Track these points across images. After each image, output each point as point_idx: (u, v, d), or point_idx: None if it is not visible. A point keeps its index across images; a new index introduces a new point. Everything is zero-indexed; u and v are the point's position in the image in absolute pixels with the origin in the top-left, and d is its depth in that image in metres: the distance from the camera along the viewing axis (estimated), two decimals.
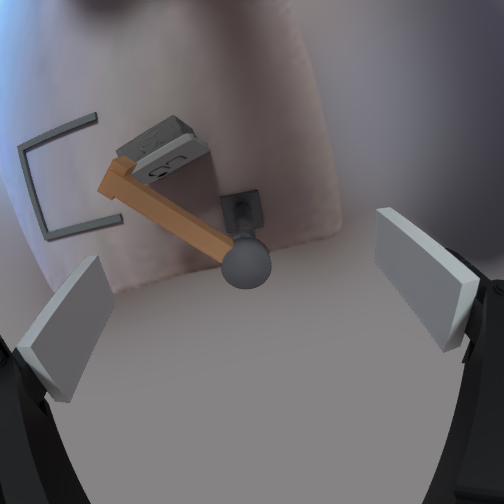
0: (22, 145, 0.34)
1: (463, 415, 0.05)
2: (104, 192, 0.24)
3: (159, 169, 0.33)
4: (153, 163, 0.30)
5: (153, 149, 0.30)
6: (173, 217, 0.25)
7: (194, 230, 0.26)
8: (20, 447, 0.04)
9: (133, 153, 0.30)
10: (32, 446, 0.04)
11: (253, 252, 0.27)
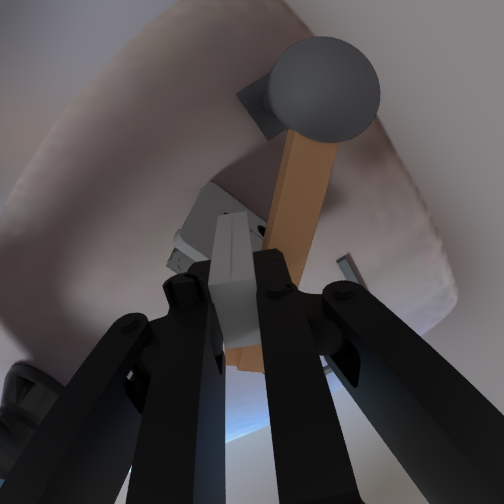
0: None
1: None
2: None
3: None
4: None
5: None
6: None
7: (287, 219, 0.13)
8: (184, 418, 0.05)
9: None
10: (199, 420, 0.05)
11: (288, 86, 0.10)
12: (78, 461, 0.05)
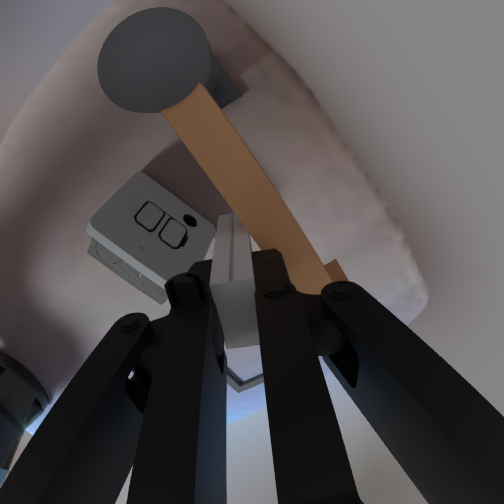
0: (234, 387, 0.39)
1: None
2: None
3: (167, 235, 0.24)
4: (144, 256, 0.21)
5: None
6: (255, 218, 0.12)
7: (224, 177, 0.11)
8: (185, 418, 0.05)
9: (150, 283, 0.23)
10: (200, 420, 0.05)
11: (122, 90, 0.10)
12: (79, 461, 0.05)
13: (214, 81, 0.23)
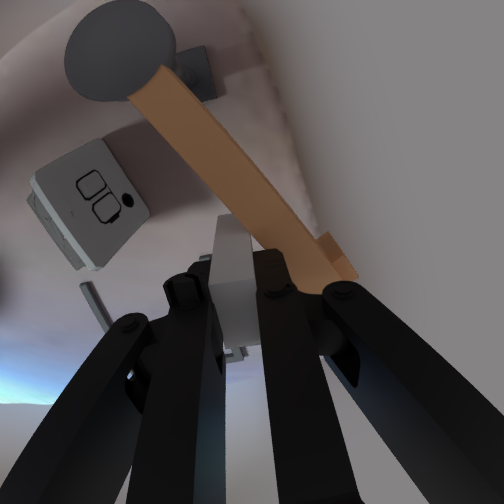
0: None
1: None
2: (348, 270, 0.14)
3: (100, 208, 0.23)
4: (71, 222, 0.20)
5: None
6: (231, 192, 0.12)
7: (196, 153, 0.11)
8: (184, 418, 0.05)
9: (71, 248, 0.22)
10: (199, 420, 0.05)
11: (89, 82, 0.09)
12: (78, 461, 0.05)
13: (196, 76, 0.23)
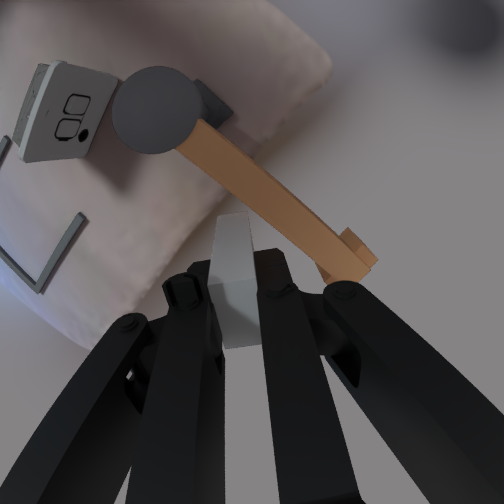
0: None
1: None
2: (368, 256, 0.17)
3: (63, 125, 0.22)
4: (41, 117, 0.19)
5: None
6: (270, 210, 0.15)
7: (238, 185, 0.15)
8: (183, 418, 0.05)
9: (24, 127, 0.20)
10: (199, 420, 0.05)
11: (140, 139, 0.13)
12: (78, 461, 0.05)
13: None
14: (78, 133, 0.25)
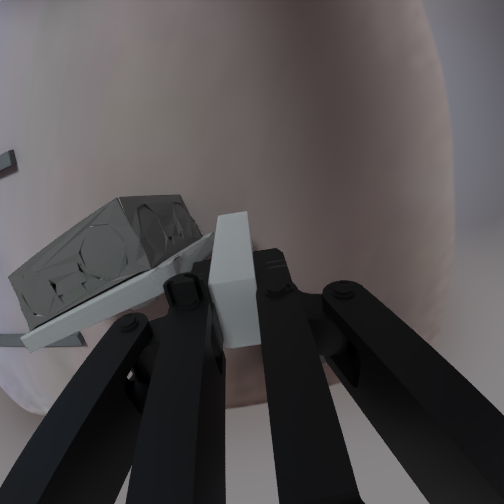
0: None
1: None
2: None
3: None
4: None
5: (78, 292, 0.11)
6: None
7: None
8: (184, 418, 0.05)
9: (39, 292, 0.11)
10: (199, 420, 0.05)
11: None
12: (78, 461, 0.05)
13: None
14: None
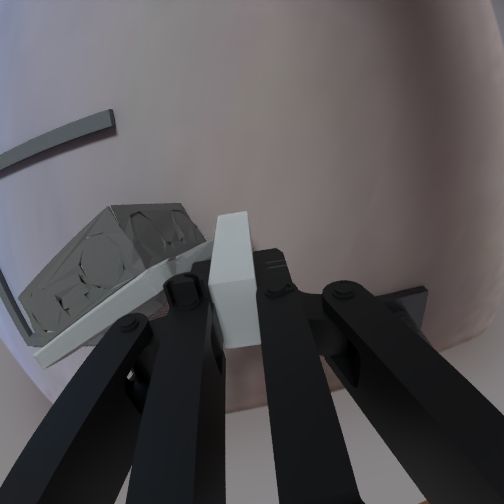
0: None
1: None
2: None
3: None
4: (92, 338, 0.11)
5: (83, 303, 0.11)
6: None
7: None
8: (184, 418, 0.05)
9: (47, 308, 0.11)
10: (199, 420, 0.05)
11: None
12: (78, 461, 0.05)
13: None
14: None
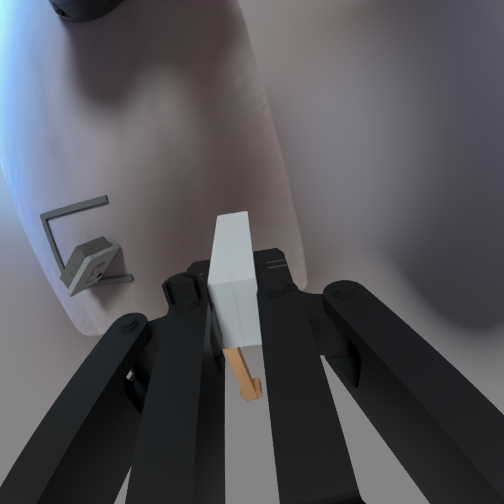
0: (44, 215, 0.46)
1: None
2: (259, 394, 0.46)
3: (90, 277, 0.47)
4: (80, 280, 0.43)
5: (76, 271, 0.43)
6: (238, 373, 0.42)
7: (234, 365, 0.42)
8: (183, 418, 0.05)
9: (68, 277, 0.44)
10: (199, 420, 0.05)
11: None
12: (78, 461, 0.05)
13: None
14: (97, 275, 0.49)
